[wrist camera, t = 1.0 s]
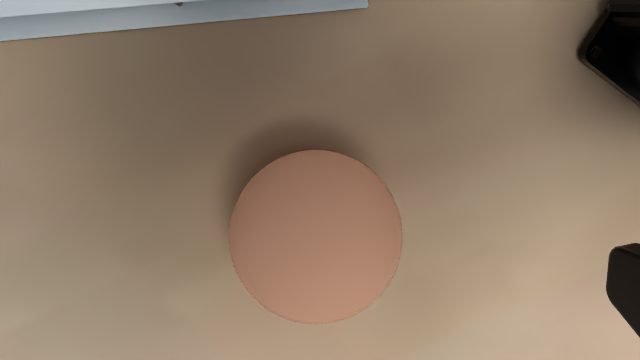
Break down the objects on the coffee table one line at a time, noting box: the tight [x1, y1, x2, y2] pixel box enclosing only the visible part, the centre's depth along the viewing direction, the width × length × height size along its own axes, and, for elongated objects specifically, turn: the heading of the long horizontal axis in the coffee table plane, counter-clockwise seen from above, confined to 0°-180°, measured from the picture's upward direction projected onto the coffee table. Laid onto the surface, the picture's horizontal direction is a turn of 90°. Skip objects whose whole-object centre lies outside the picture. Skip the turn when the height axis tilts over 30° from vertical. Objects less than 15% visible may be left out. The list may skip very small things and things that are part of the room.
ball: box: [229, 150, 402, 324], centre depth 18 cm, size 6×6×6 cm
